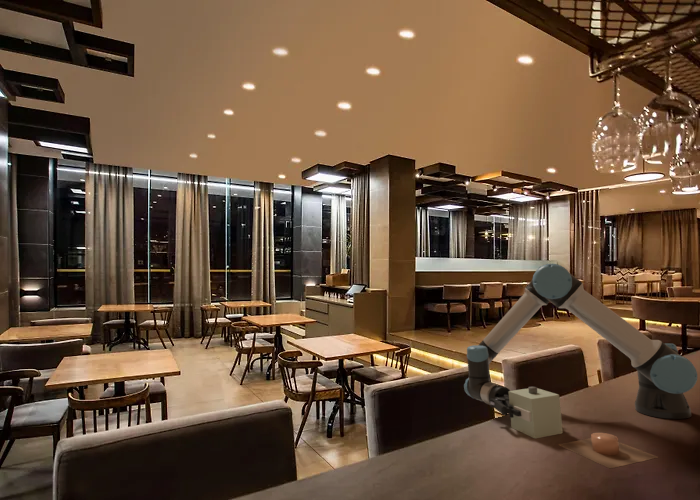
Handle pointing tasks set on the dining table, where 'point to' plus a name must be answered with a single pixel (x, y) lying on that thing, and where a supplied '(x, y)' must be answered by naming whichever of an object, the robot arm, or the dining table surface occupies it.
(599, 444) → the glossy tan dome
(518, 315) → the robot arm
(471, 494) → the dining table surface
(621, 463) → the board
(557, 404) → the knobbed cream cube
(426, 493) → the dining table surface
